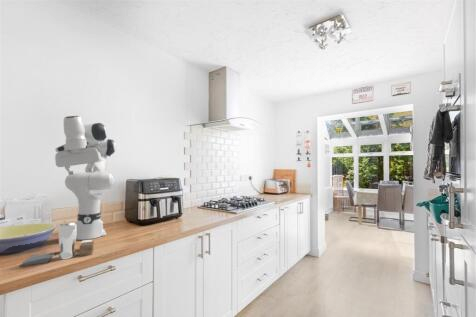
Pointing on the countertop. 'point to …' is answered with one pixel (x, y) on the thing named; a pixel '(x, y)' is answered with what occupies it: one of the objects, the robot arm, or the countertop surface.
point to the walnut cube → (86, 248)
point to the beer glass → (67, 240)
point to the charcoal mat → (38, 259)
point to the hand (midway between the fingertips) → (81, 173)
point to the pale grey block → (86, 241)
